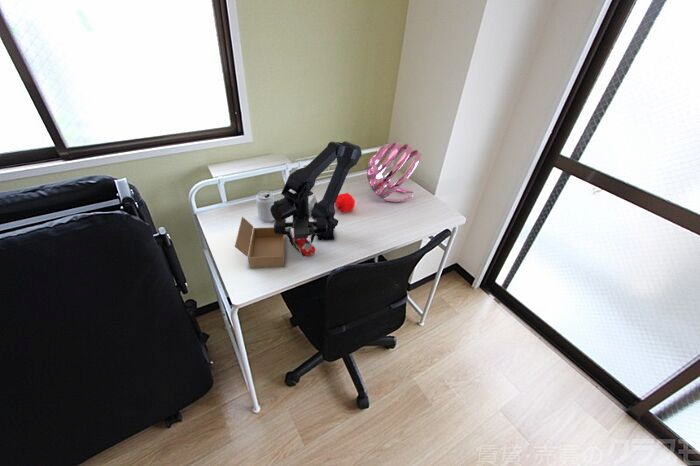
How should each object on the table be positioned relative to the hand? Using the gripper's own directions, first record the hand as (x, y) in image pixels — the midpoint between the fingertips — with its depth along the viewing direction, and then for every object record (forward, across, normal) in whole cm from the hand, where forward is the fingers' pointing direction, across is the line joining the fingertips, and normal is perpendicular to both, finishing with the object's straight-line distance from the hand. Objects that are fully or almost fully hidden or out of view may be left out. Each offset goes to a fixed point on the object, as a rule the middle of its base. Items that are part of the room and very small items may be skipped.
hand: (301, 243), depth 114 cm
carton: (+4, -12, 0) cm, 13 cm away
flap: (-4, -20, 0) cm, 20 cm away
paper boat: (+4, +3, +26) cm, 26 cm away
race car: (+2, 0, 0) cm, 2 cm away
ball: (+4, +20, +26) cm, 33 cm away
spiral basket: (+4, +44, +40) cm, 59 cm away
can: (+4, -14, +22) cm, 26 cm away
